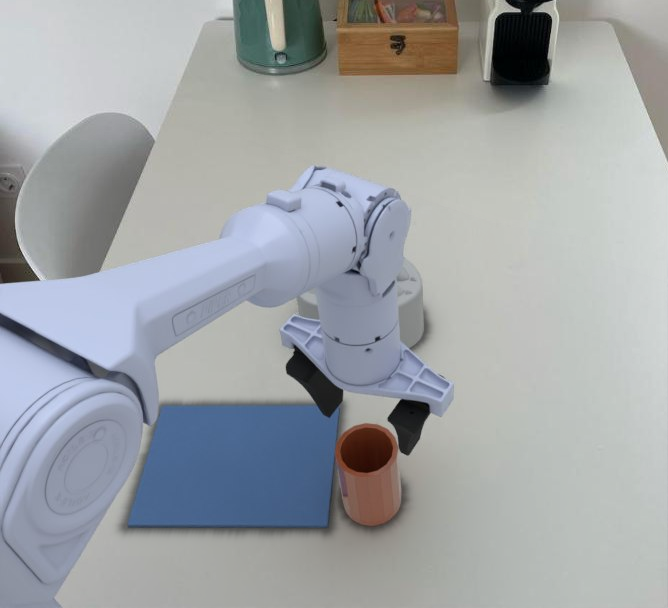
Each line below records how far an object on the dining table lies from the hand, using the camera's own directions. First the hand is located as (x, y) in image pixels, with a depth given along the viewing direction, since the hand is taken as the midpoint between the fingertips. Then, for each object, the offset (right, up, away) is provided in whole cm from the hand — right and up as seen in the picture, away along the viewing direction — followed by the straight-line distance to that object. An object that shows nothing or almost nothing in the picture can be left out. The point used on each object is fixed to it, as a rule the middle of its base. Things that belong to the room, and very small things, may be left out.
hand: (370, 426), depth 68 cm
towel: (-13, -6, +10) cm, 17 cm away
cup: (0, -8, +6) cm, 10 cm away
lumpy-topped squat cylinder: (-1, +6, +22) cm, 23 cm away
